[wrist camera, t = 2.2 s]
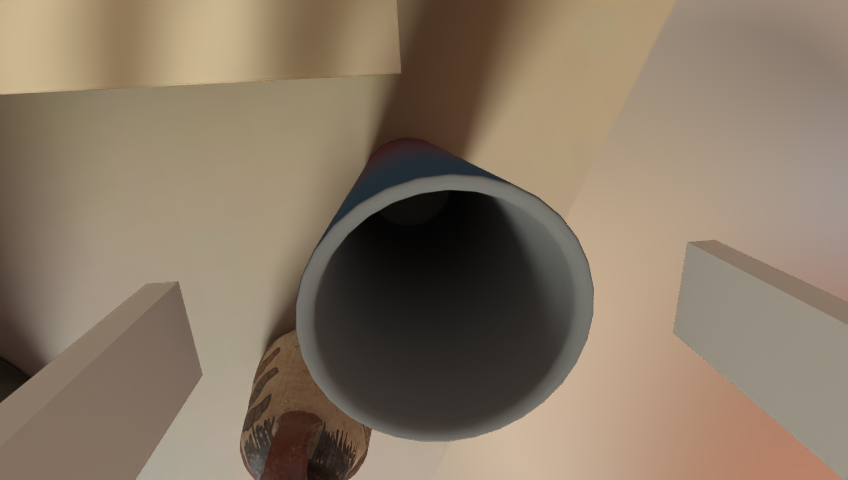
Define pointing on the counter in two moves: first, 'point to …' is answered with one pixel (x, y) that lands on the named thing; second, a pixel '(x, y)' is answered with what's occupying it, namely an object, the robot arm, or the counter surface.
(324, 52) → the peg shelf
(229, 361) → the counter surface
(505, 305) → the cup
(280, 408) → the figurine
